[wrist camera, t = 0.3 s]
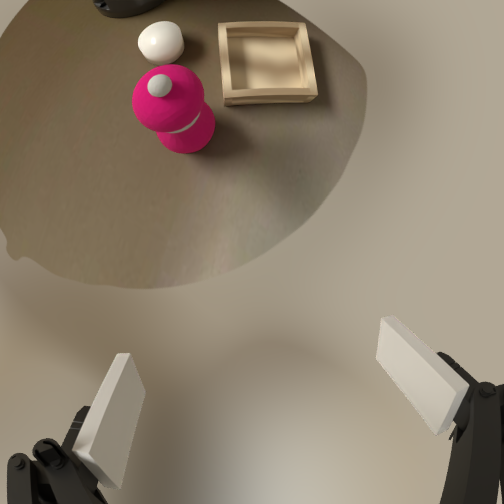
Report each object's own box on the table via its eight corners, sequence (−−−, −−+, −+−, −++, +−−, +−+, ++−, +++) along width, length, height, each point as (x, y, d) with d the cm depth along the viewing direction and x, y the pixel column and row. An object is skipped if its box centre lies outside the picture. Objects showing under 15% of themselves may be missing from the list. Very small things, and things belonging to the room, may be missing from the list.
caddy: (218, 36, 32) (218, 23, 28) (298, 34, 33) (305, 22, 29) (224, 106, 35) (224, 97, 31) (309, 102, 36) (317, 95, 32)
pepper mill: (194, 96, 34) (171, 24, 15) (226, 134, 36) (231, 85, 16) (153, 129, 35) (92, 85, 15) (184, 167, 36) (145, 151, 17)
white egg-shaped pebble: (145, 38, 31) (138, 26, 27) (183, 30, 31) (180, 18, 27) (144, 69, 32) (137, 59, 28) (185, 62, 33) (181, 50, 29)
